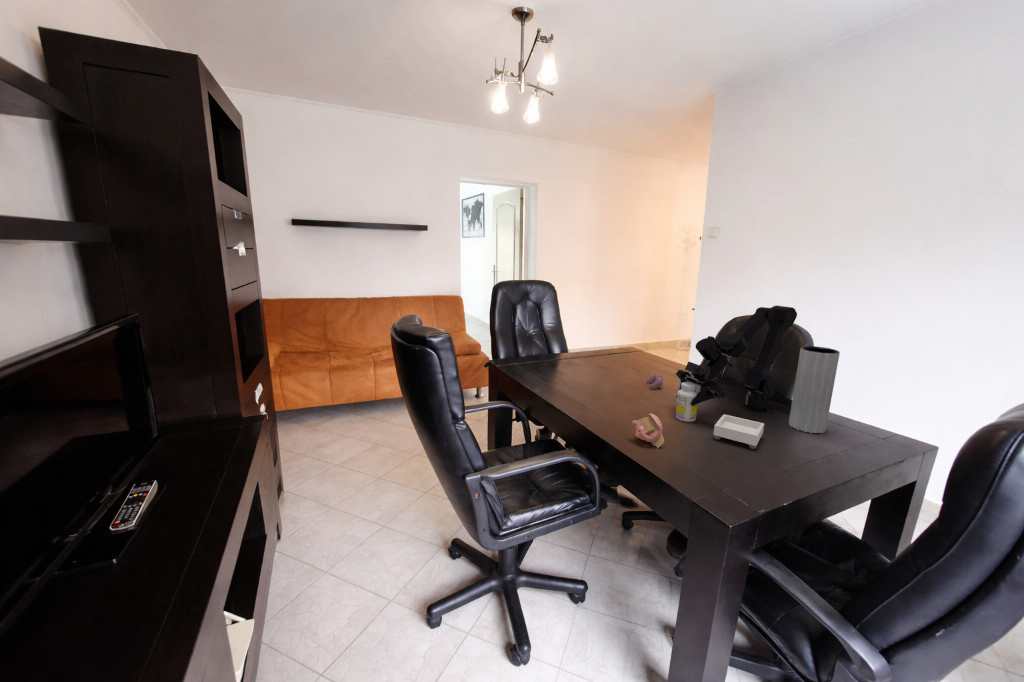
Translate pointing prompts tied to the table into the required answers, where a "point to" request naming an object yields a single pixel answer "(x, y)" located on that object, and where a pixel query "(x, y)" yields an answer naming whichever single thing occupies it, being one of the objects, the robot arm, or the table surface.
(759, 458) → the table surface
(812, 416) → the vase
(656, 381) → the purple lumpy piece
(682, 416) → the supplement bottle
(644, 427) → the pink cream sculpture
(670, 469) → the table surface
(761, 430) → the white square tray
